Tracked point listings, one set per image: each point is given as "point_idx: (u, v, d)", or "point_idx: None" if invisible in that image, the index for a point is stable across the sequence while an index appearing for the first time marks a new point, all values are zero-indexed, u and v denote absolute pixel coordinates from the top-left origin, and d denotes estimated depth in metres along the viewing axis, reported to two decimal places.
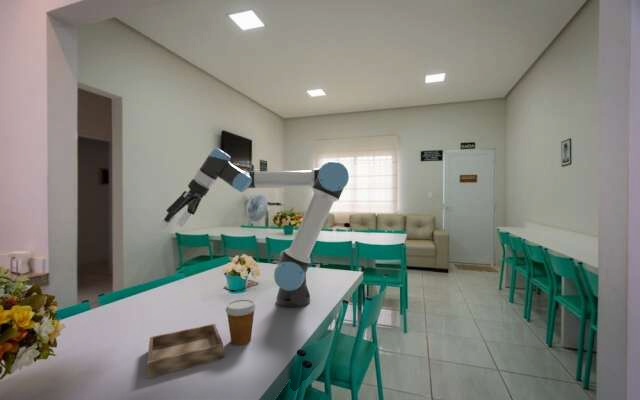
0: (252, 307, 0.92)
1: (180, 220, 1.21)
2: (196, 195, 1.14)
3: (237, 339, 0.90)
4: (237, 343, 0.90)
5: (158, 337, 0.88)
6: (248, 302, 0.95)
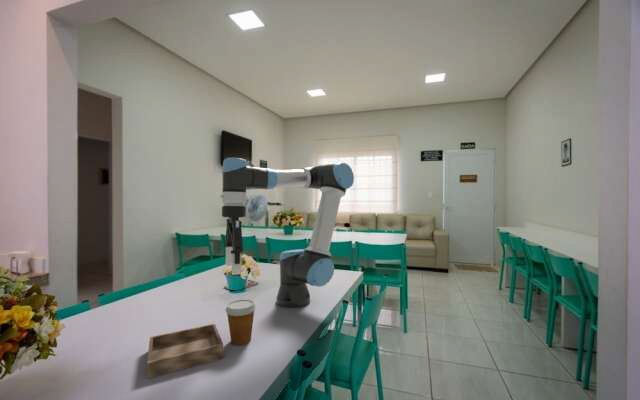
0: (252, 307, 0.92)
1: (227, 260, 0.99)
2: None
3: (237, 339, 0.90)
4: (237, 343, 0.90)
5: (158, 337, 0.88)
6: (248, 302, 0.95)
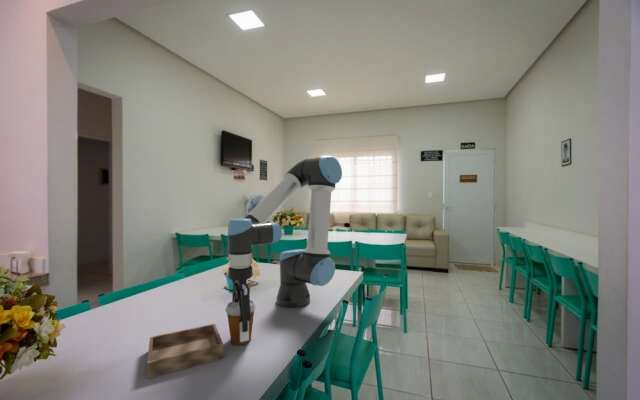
0: (252, 307, 0.92)
1: None
2: None
3: (237, 339, 0.90)
4: (237, 343, 0.90)
5: (158, 337, 0.88)
6: None
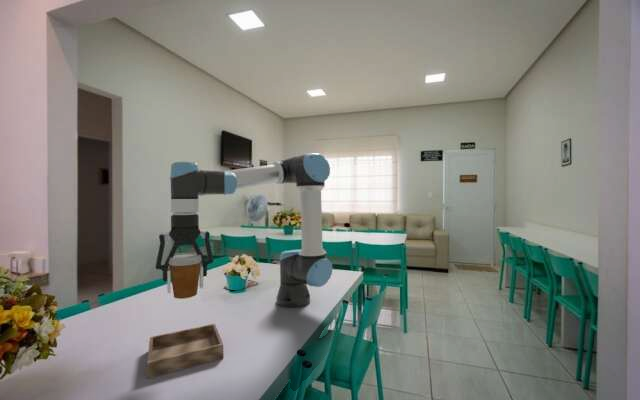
0: (173, 260, 0.81)
1: None
2: (185, 231, 0.84)
3: None
4: None
5: (158, 337, 0.88)
6: None
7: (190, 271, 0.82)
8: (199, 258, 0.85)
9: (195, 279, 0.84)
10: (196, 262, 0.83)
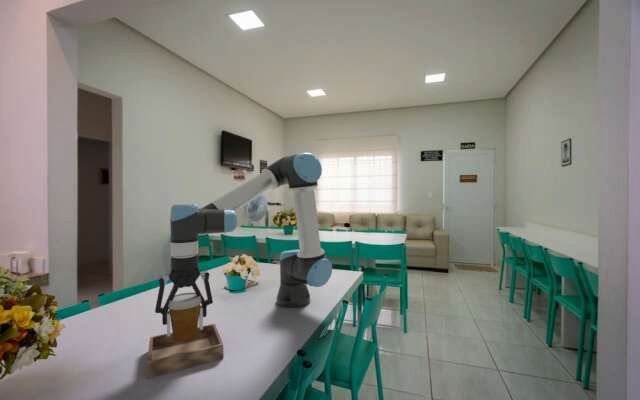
0: (173, 304, 0.81)
1: (199, 321, 0.88)
2: (184, 273, 0.84)
3: None
4: None
5: (158, 337, 0.88)
6: None
7: (190, 314, 0.82)
8: (199, 300, 0.85)
9: (195, 321, 0.84)
10: (196, 305, 0.83)
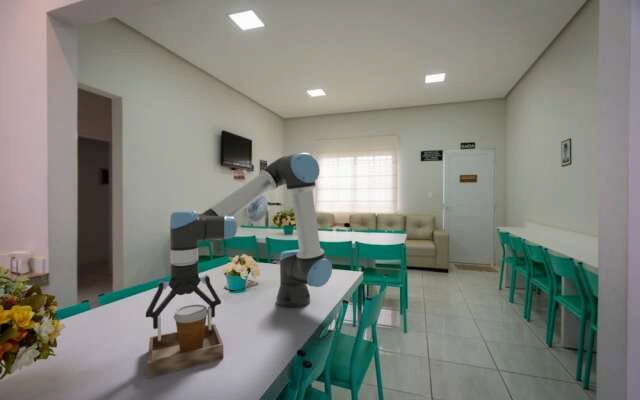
0: (180, 317, 0.82)
1: None
2: (185, 281, 0.84)
3: None
4: None
5: None
6: (195, 313, 0.84)
7: (196, 327, 0.83)
8: (205, 312, 0.86)
9: (201, 334, 0.85)
10: (202, 317, 0.84)
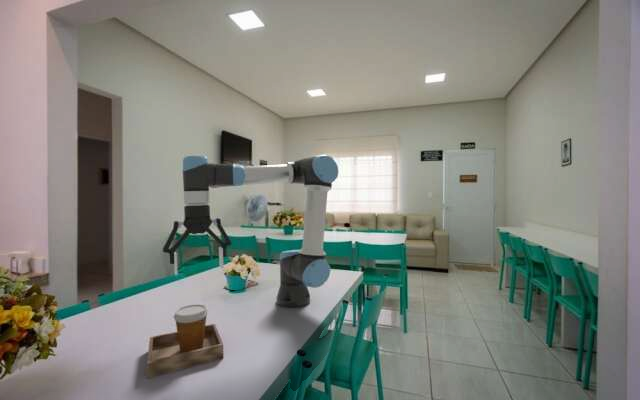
0: (180, 317, 0.82)
1: (219, 261, 0.95)
2: (198, 221, 0.90)
3: None
4: None
5: (158, 337, 0.88)
6: (195, 313, 0.84)
7: (196, 327, 0.83)
8: (205, 312, 0.86)
9: (201, 334, 0.85)
10: (202, 317, 0.84)
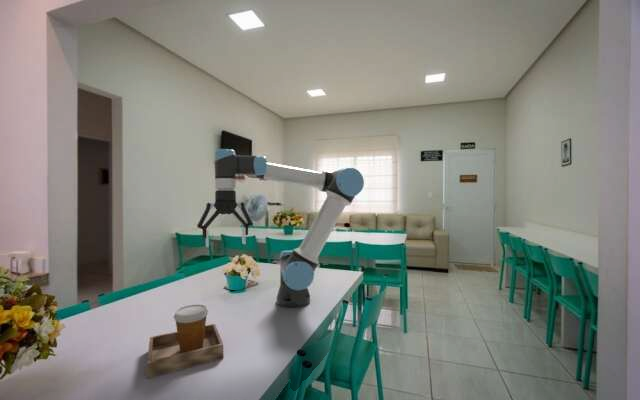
0: (180, 317, 0.82)
1: (242, 238, 1.13)
2: (226, 203, 1.08)
3: None
4: None
5: (158, 337, 0.88)
6: (195, 313, 0.84)
7: (196, 327, 0.83)
8: (205, 312, 0.86)
9: (201, 334, 0.85)
10: (202, 317, 0.84)
